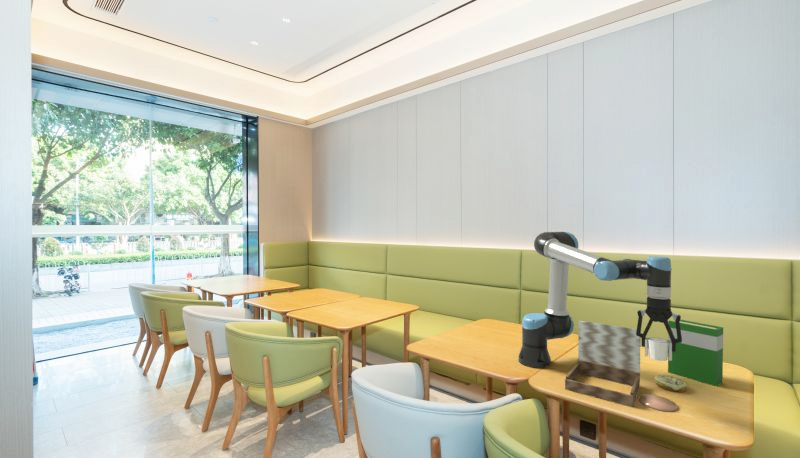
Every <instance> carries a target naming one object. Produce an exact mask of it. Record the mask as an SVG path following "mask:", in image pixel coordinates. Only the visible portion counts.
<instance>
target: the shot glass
mask: <svg viewBox="0 0 800 458" xmlns="http://www.w3.org/2000/svg"><path fill="white" fill-rule="evenodd" d="M647 338H648V357H649V359H652V360H656V361H662V362H663V361H664V362H665V361H668V350H669V341H668V340H667V339H665V338H660V337H653V336H651V337H647Z"/></svg>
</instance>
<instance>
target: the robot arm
mask: <svg viewBox="0 0 800 458" xmlns="http://www.w3.org/2000/svg"><path fill="white" fill-rule="evenodd" d="M533 247H534V249H535V252H536V253H537V254H539V255H540V256H543V257H545V258H546V259H548V260H549V262H550V263H549V264H550V266H549V279H548V280H549V282H548V300H547V308H545V309H544V310H543V311H544V313H542V312H541V313H540V312H531V313H527V314H525V315H524V316H523V317H522V322H521V326H522V327H521V328H522V330H521V333H522V334H521V335H522V339H521V344H522V346H521V348H520V349H519V350H520V351H519V353H518V362H519V363H520V364H521V365H524V366H527V367H530V368H537V369H539V368H540V369H543V368H548V367H550V366H551V365H552V359H551V355H550V353H549V350H548V349H549V348H548V340H556V339H564V338H566V337H569V336H570V335H571V334H572V333H573V331H574V329H575V326H574V320H573V318H572V316H570V311H568V310H567V300H568V284H569V283H568V282H569V265H571V266H573V267H576V268H579V269H581V270H584V271H585V272H588V273H591V274H593V275H595V277H596V278H597V279H598V280H600V281H605V282H606V281H607V282H610V281H611V282H612V281H619V280H630V279H631V280H632V279H633V280H634V279H636V280H643V281H646V295H647V297H646V308H645V309H643V310H641V309H639V310H637V316H638V317H637V325H636V329H637V331H636V335H637V336H639V337H640V339H641V346H642V347H644V357H649V348H648V338H649V337H647V335H648V333H649V331H650V330H651V326H652V324H653V322H658V323H662V324H663V325H664V327H665V330H666V332H667V334H669V337H670V339H671V341H670V342H669V361H672V352H675V351H676V343H681V342H682V336H681V328H680V319H681V317H682V315H681V314H676V313H673V312H672V300H671V297H672V285H671V284H672V263H671V262H672V261H671V258H670V257H668V256H657V255H656V256H653V255H651V256H648V257H646V260H639V259H631V258H621V259H619V260H612V259H609V258H605V257H603V256H600V255H598V254H594V253H591V252H589V251H586V250H583V249H580V248H579V241H578V239H577V237H576V236H575V235H574V234H573V233H571V232H568V231H545V232H541V233H539V234H538V235H537V236H536V237H535V239H534V242H533ZM645 315H647V316H648V318H649V320H648V322H647V324H646V326H645V329H644V331H643V333H641V332H642V326H643V325H642V324H643V320H644V319H643V317H644V316H645ZM671 317H672V319H673V321H675V320H676V321H675V324H676V332H677V339H675V337H674V335H673V332H672V330H671V327H670V325H669V319H670V318H671ZM681 320H682V319H681Z"/></svg>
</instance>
